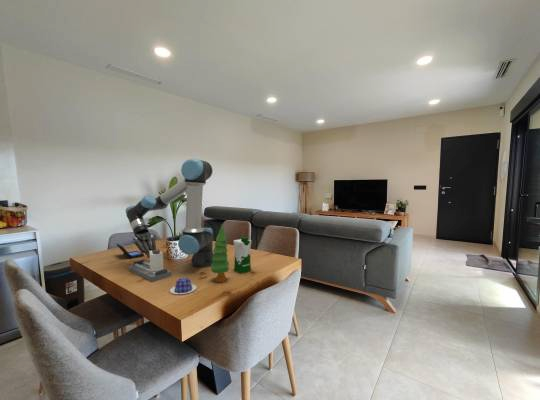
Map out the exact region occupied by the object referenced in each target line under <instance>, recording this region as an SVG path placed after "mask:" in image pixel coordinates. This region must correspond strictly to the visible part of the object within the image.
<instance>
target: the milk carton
mask: <svg viewBox="0 0 540 400" xmlns="http://www.w3.org/2000/svg"><path fill="white" fill-rule="evenodd" d="M233 246H234V266H233V268H234V269H233V271H235V272H237V273H239V274H245V273H248V272H251V271H252V265H251V246H252V240H251V239H249V236H243V237H242V236H241V237H240V239H234V240H233Z"/></svg>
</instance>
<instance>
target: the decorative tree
mask: <svg viewBox="0 0 540 400" xmlns="http://www.w3.org/2000/svg"><path fill="white" fill-rule="evenodd" d="M227 239H228V238H227V236H226V232H225V230H224V224H223V223H221V226H220V229H219V231H218V234H217V236H216V238H215V240H216V241H215V242H214V248H213V253H214V255H213V257H212V260H213V262H212V265H211V266H210V268H211V272H212V273H213V274H217V275H216V278H215V282H216V283H217V282H218V283H224V282H225V281H226V280H227V277H226V275H225V274H226V273H228V272H229V270H230V268H229V265H230V262H229V260H228V248H227V246H228V242H227Z"/></svg>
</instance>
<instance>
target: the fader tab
mask: <svg viewBox="0 0 540 400" xmlns="http://www.w3.org/2000/svg"><path fill="white" fill-rule="evenodd" d="M149 262H150V270H151V271H155V272H156V271H160V270H161V269H163V268H164V252H163V251H161V250H160V249H159V248H158V249H157V248H156V249H155V250H153V253H151V254H150V258H149Z"/></svg>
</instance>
